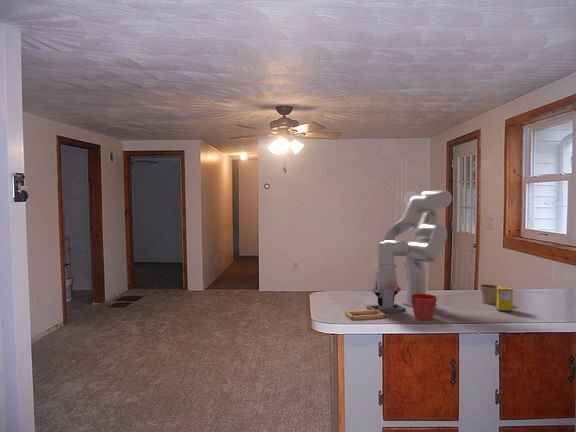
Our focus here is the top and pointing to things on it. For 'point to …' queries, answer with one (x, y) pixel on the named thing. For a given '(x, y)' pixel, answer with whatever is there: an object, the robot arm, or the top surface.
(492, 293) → the flower pot
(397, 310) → the tan grey double frame
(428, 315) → the flower pot
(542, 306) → the top surface
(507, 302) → the supplement box
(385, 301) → the plug
